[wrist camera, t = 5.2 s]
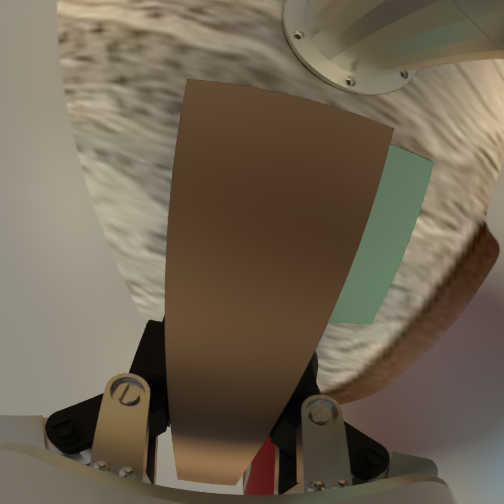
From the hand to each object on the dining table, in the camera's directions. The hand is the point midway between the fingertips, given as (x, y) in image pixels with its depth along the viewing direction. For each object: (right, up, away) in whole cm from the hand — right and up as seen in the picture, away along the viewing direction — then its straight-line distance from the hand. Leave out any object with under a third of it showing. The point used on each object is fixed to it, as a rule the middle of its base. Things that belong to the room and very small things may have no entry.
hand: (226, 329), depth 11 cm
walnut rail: (0, -1, -1) cm, 1 cm away
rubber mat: (+12, +4, +15) cm, 19 cm away
